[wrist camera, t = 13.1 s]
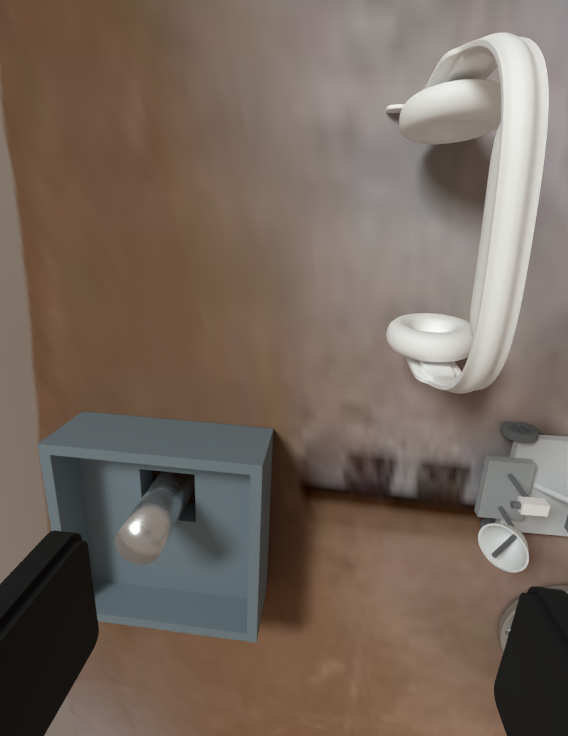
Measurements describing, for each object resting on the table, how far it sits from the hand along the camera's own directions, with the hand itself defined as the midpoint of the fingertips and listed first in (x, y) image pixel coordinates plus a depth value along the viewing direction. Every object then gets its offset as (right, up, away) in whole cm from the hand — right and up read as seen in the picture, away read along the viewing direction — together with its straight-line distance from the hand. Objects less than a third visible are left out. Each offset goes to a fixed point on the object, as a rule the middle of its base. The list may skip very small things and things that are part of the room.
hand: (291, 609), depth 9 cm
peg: (-11, -7, +35) cm, 38 cm away
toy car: (+26, -5, +31) cm, 41 cm away
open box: (-12, -10, +36) cm, 39 cm away
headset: (+11, +16, +26) cm, 33 cm away
